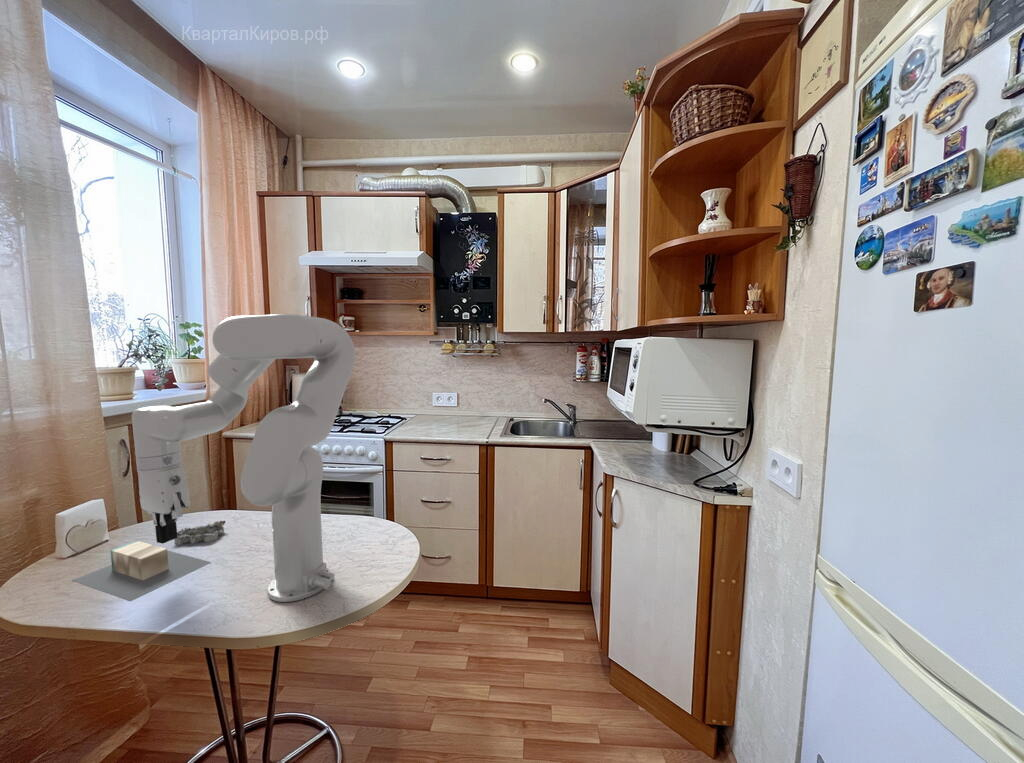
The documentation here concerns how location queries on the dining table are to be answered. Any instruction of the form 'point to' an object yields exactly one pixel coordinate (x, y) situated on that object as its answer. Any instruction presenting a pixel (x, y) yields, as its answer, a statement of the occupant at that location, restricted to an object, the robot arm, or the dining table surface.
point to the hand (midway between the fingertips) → (167, 540)
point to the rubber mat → (135, 587)
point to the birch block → (139, 560)
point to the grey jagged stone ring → (195, 536)
